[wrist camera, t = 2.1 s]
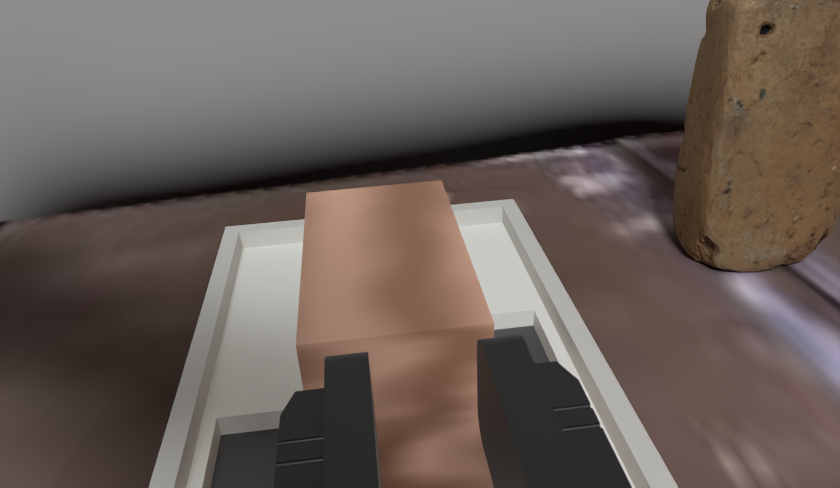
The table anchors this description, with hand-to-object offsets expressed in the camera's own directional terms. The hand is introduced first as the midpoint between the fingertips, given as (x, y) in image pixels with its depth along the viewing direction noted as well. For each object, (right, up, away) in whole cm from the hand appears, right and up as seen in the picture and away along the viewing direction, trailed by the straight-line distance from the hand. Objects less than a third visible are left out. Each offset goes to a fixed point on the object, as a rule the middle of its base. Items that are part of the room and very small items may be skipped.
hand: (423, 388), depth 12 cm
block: (+26, +2, +43) cm, 50 cm away
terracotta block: (-1, -8, +24) cm, 25 cm away
